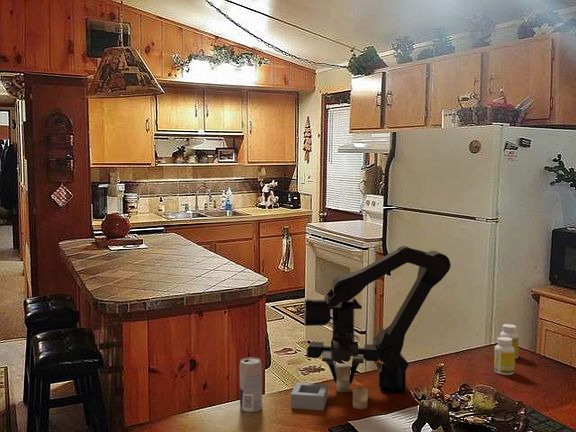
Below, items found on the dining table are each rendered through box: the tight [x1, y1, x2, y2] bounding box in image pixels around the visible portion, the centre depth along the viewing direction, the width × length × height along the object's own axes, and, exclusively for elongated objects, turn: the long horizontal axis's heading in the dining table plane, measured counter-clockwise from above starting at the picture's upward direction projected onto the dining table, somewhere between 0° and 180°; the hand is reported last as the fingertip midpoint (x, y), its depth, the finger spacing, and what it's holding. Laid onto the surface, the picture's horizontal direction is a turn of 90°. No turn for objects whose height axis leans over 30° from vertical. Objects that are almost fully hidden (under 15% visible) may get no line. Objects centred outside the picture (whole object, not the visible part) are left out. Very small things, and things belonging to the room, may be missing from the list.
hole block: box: [290, 382, 328, 411], centre depth 141 cm, size 8×8×4 cm
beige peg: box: [336, 363, 351, 393], centre depth 150 cm, size 4×4×6 cm
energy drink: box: [238, 356, 263, 414], centre depth 138 cm, size 5×5×12 cm
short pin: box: [352, 387, 369, 410], centre depth 139 cm, size 4×4×4 cm
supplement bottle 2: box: [493, 336, 516, 376], centre depth 162 cm, size 5×5×10 cm
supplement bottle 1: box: [499, 323, 520, 359], centre depth 176 cm, size 5×5×10 cm
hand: (343, 383), depth 150 cm, fingers closed on beige peg, 4 cm apart
